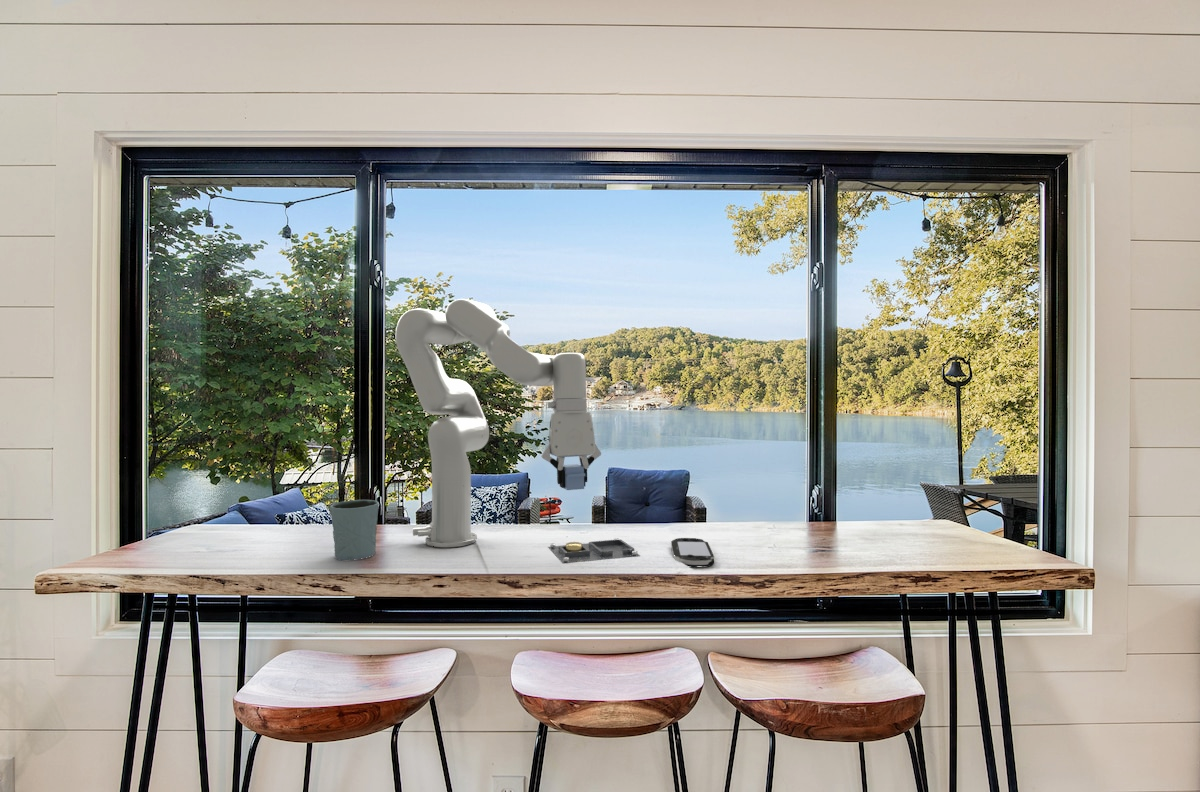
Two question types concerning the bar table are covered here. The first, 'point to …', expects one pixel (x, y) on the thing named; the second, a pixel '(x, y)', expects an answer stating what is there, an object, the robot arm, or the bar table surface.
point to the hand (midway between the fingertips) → (572, 485)
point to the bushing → (573, 546)
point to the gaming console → (692, 552)
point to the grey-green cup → (354, 528)
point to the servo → (574, 477)
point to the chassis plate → (595, 551)
